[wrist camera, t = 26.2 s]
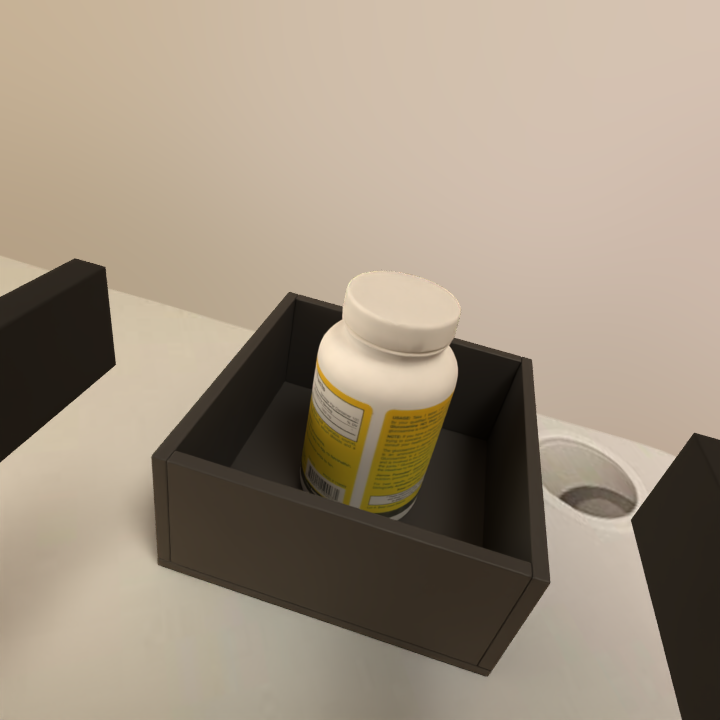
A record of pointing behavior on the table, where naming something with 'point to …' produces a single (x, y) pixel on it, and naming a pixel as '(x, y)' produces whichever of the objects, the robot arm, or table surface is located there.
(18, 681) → the table surface
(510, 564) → the basket
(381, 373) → the pill bottle
